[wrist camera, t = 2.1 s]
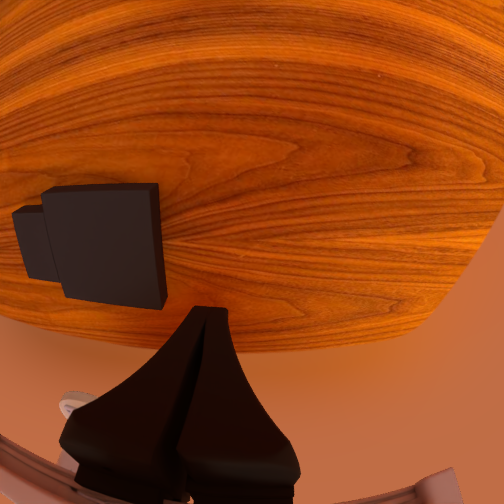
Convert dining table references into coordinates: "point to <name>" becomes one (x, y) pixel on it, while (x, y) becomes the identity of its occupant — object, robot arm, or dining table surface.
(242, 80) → the dining table surface
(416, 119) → the dining table surface
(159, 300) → the small pad
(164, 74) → the dining table surface
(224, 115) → the dining table surface
